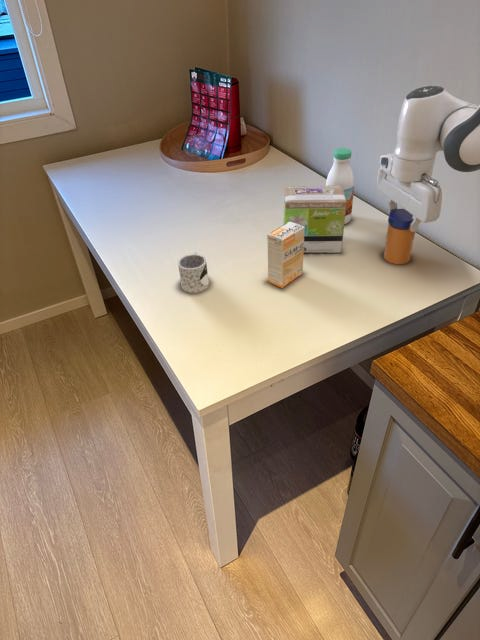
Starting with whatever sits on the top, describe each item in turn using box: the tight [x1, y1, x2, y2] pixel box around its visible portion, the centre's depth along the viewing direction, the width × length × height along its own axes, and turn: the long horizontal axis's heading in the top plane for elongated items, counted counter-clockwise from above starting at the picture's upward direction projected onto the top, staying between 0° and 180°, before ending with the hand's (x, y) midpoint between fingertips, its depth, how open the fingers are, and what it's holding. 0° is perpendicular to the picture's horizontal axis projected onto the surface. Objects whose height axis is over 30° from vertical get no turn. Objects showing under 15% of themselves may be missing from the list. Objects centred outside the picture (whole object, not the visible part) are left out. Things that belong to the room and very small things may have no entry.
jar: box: [383, 223, 416, 265], centre depth 119 cm, size 6×6×11 cm
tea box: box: [282, 185, 346, 254], centre depth 125 cm, size 15×10×15 cm, turn 87°
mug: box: [177, 252, 210, 294], centre depth 117 cm, size 10×7×7 cm
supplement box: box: [266, 222, 305, 289], centre depth 114 cm, size 8×5×13 cm, turn 137°
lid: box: [387, 208, 414, 229], centre depth 116 cm, size 7×7×2 cm
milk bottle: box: [325, 147, 355, 225], centre depth 134 cm, size 8×8×20 cm
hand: (402, 222), depth 116 cm, fingers closed on lid, 6 cm apart
